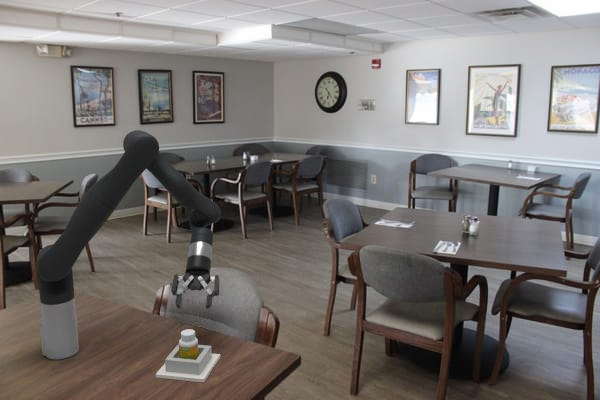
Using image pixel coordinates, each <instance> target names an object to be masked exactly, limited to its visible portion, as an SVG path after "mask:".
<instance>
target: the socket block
mask: <svg viewBox="0 0 600 400" xmlns="http://www.w3.org/2000/svg"><path fill="white" fill-rule="evenodd" d="M220 359H221V354H220V353H212V345H203V344H198V358H197V359H196V360H192V359H182V358H179V343H178V344H176V346H175V347H174V349H173V350H172V351H171V352H170V353H169V354H168V355H167V357H166V358H165V359H164V364H163V365H162V366H161V368H160V369H158V371H157V372H155V378H158V379H167V380H176V381H186V382H193V383H194V382H195V383H205V382H206V380H207V379H208V377H209V376H210V374H211V373H212V371H213V370H214V368H215V366H216V365H217V363H218V361H219V360H220Z"/></svg>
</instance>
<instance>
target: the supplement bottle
mask: <svg viewBox="0 0 600 400" xmlns="http://www.w3.org/2000/svg"><path fill="white" fill-rule="evenodd" d="M178 344H179V358H182V359H192V360H196V359H197V358H198V345H199V340H198V338H197V337H196V331H195V330H194V329H191V328H190V329H189V328H188V329H187V328H186V329H184V330H182V331H181V332H180V338H179V341H178Z"/></svg>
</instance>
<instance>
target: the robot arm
mask: <svg viewBox="0 0 600 400" xmlns="http://www.w3.org/2000/svg"><path fill="white" fill-rule="evenodd" d="M122 145H123V150H124V153H123V154H122V155H121V157H120V159H119V160H118V161H117V163H116V164H115V166H114V167H113V168H112V169H111V170H110V171H109V172H107V173H106V174H105V175H103V176H102V177H101V178H100V179H99V180H97V181H96V182H95V183H94V184H93V185H92V186H91V187H90V188H89V189H88V190H87V192H86V193H85V194H84V196H83V198H82V199H81V200H80V202H79V203H78V205H77V206H76V207H75V210H73V213H72V215H71V217H70V219H69V220H68V222H67V225H66V227H65V229H64V230H63V232H62V233H61V234H60V236H59V237H58V238H57V240H55V241H54V243H53V244H48V245H46V246H44V247H43V248H42V249H41V250H40V251H39V252H38V254H37V258H36V264H35V266H36V272H37V276H38V286H39V287H38V289H39V290H38V291H39V302H40V311H41V312H40V313H41V321H42V323H41V324H40V325H39V333H40V334H39V335H40V343H41V344H40V345H41V354H42V356H45V357H46V358H47V359H50V360H64V359H67V358H71V357H72V356H74V355H76V354H77V353H78V352H79V350H80V345H79V335H78V323H77V312H76V311H77V309H76V302H75V301H76V300H75V299H76V298H75V285H74V276H73V275H74V274H73V268H74V266H75V263H76V262H77V260H78V258H79V257H80V256H81V254H82V252H83V251H84V249H85V247H86V246H87V245H88V243H89V242H90V241H91V240H92V239H93V238H94V237H95V235H96V234H97V233H98V232H99V231H100V230H101V228H102V227H103V226H104V224H106V222H107V221H108V220H109V218H110V217H111V216H112V215H113V213H114V212H115V210H116V209H117V207H119V204H120V203H121V201H122V200H123V199H124V198H125V196H126V195H127V193H128V192H129V190H130V189H131V188H132V186H133V185H134V184H135V182H136V181H137V180H138V178H139V177H140V176H141V175H142V174H143V173H144V171H146V170H147V171H148V172H150V173H151V175H152V176H154V178H155V179H156V180H157V181H158V182H159V183H160V184H161V185H162V186H163V188H164V189H165V190H166V191H167V192H168V193H169V194H170V195H171V197H172V198H174V200H175V201H176V202H177V203H178V204H179V205H180V206H181V207H182V208H184V209H186V210H187V209H189V210H190V209H191V211H190V213H189V218H188V222H189V227H190V232H191V233H190V236H191V237H190V242H189V243H190V244H189V248H188V252H187V258H186V267H185V272H184V275H179V274H177V273H176V274H174V275H173V279H172V280H173V281H172V284H171V289H170V292H171V294H172V296H175V306H176V308H177V309H178V310H181V309H182V302H183V296H184V295H185V294H186V293H188V291H202V290H204V292H205V293H206V294H207V295H206V300H205V301H206V302H205V309H206V310H210V308H211V307H212V306H213V305H212V304H213V298H214V297H215V296H216V297H218V296H219V295H220V285H221V284H220V281H221V280H220V279H221V278H220V276H219V275H218V274H215V275H214V276H211V267H212V261H213V243H214V233H213V230H212V229H210V228H208V226H210V225H213V224H216V223H218V222H219V221H220V220H221V218H222V212H221V208H220V207H219V206H218V204H217V203H216V202H215V201H213V200H212V199H210V198H209V197H207V196H205V194H202V193H200V192H199V191H198V190H197V189H196V188H195V187H194V185H192V184H191V182H190V181H189V180H188V179H187V178H186V177H185V176H184V175H183V174H181V172H180V171H178V170H177V169H176V168H175V167H174V166H172V164H171V163H169V161H167V160H166V158H165V157H164V155H162V153H161V152H160V145H159V141H158V140H157V138H156V137H155V136H153V135H152V134H150V133H148V132H146V131H144V130H132V131H130V132H128V133H127V134H126V135H125V137H124V139H123V143H122ZM182 281H183V284H182V285H181V287H180V288H179V284H181V282H182ZM210 282H212V283H213V285H214V286H213V287H214V289H213V290H212V289H210V288H209V285H208V284H210Z"/></svg>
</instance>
